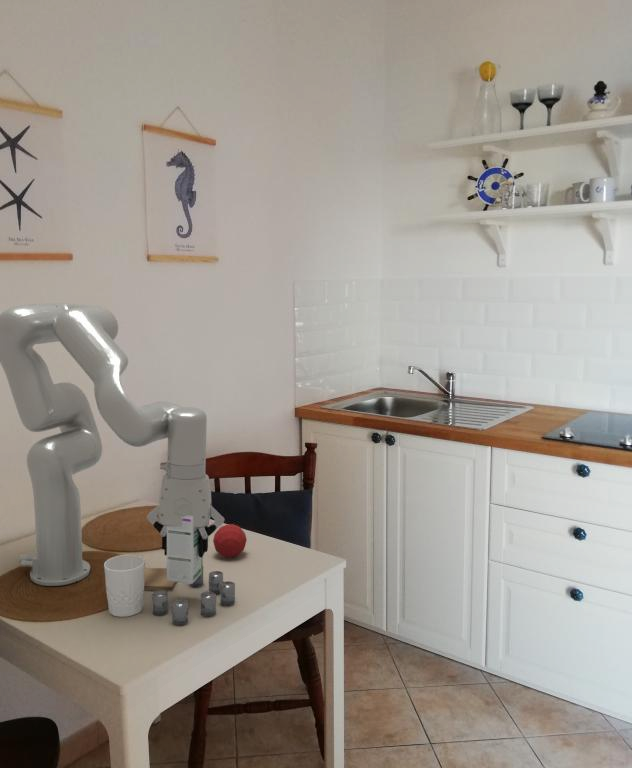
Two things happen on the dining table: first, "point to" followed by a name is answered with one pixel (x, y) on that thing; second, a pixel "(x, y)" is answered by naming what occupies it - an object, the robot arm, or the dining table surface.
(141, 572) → the white cup
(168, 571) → the syrup box
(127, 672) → the dining table surface
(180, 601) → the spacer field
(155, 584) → the tan board
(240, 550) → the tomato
